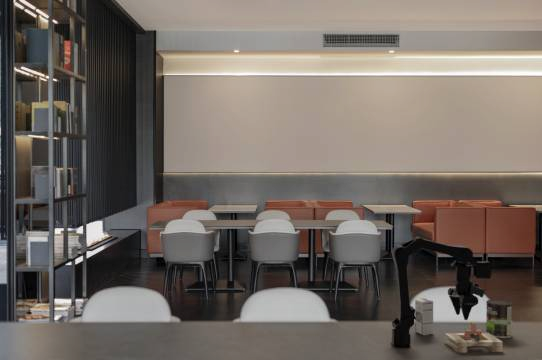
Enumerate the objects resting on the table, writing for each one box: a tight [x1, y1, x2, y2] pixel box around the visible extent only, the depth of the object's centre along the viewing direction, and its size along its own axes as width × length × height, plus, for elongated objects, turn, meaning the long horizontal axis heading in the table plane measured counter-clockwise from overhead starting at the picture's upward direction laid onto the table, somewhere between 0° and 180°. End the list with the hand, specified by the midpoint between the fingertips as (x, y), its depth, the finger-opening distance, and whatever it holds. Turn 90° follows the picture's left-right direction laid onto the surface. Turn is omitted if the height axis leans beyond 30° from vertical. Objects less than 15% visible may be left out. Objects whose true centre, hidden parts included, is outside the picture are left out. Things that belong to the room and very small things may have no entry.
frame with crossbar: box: [444, 332, 504, 354], centre depth 258 cm, size 18×14×6 cm
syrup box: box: [414, 298, 434, 336], centre depth 279 cm, size 6×6×14 cm
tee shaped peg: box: [463, 321, 483, 340], centre depth 258 cm, size 6×3×7 cm, turn 94°
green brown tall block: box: [485, 299, 513, 339], centre depth 277 cm, size 10×10×14 cm
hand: (461, 317), depth 260 cm, fingers open, 9 cm apart
